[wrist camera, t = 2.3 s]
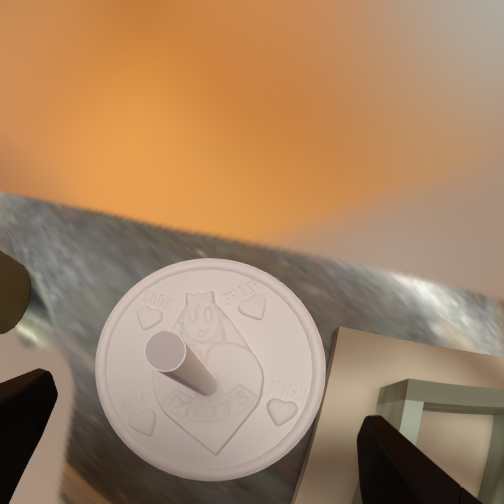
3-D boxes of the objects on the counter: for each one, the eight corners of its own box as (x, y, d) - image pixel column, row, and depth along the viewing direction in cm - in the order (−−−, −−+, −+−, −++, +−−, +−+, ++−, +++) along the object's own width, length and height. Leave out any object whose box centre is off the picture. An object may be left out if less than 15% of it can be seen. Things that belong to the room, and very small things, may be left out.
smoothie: (175, 452, 15) (-6, 505, 2) (165, 342, 18) (26, 172, 5) (294, 440, 15) (436, 491, 3) (277, 330, 18) (333, 130, 6)
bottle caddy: (480, 563, 9) (516, 575, 5) (262, 577, 10) (266, 614, 7) (524, 364, 16) (564, 347, 12) (335, 331, 18) (358, 304, 14)
